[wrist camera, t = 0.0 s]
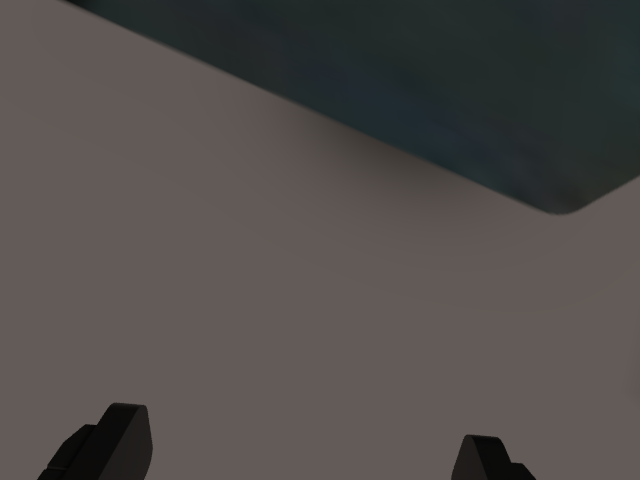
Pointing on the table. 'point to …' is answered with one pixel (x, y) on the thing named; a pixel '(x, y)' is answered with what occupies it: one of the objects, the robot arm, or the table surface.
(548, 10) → the table surface
